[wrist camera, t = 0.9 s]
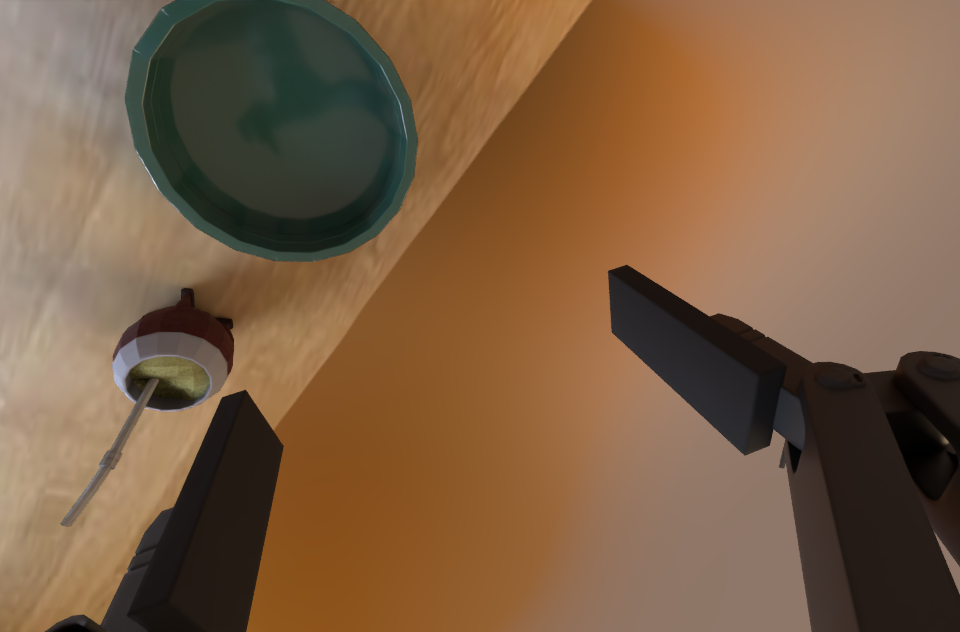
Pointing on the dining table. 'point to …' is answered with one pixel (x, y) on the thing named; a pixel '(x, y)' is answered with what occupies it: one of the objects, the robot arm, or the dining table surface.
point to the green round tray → (272, 124)
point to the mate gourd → (165, 371)
